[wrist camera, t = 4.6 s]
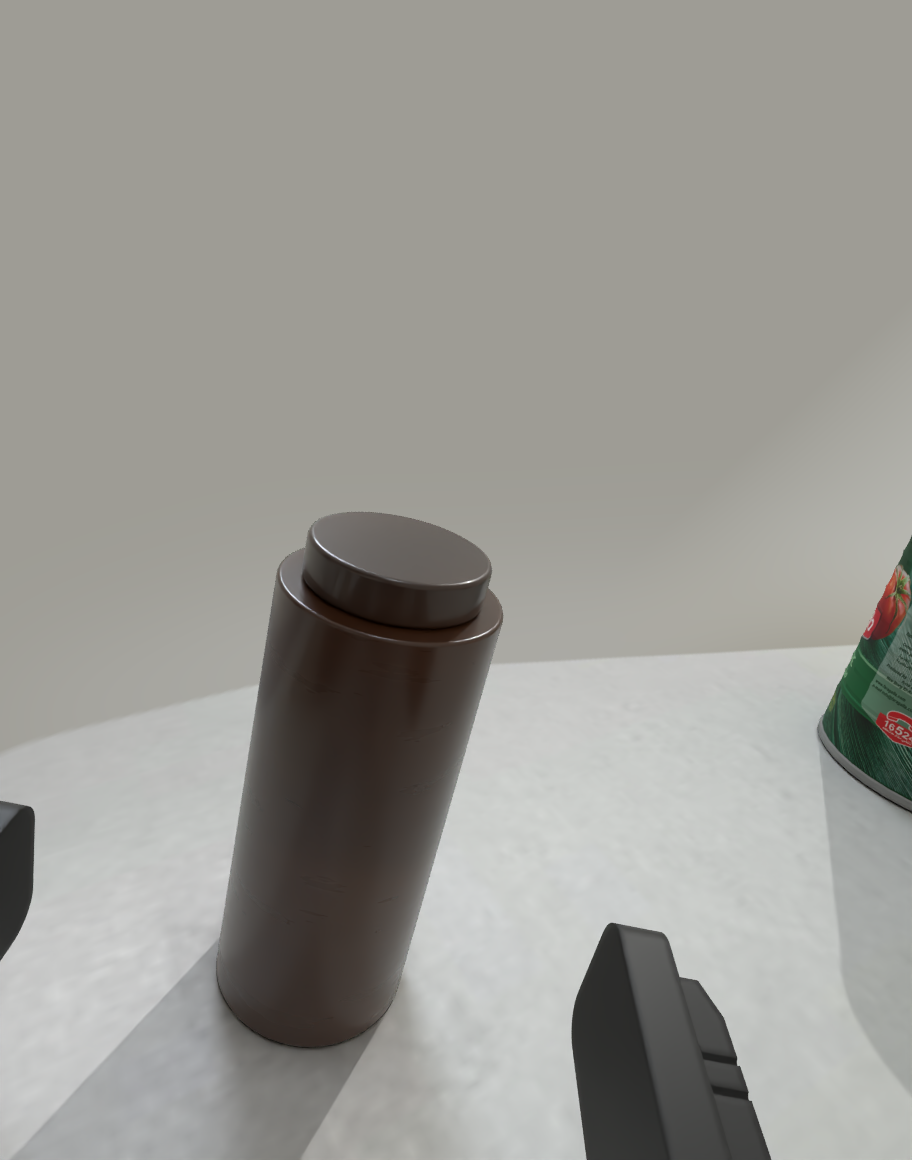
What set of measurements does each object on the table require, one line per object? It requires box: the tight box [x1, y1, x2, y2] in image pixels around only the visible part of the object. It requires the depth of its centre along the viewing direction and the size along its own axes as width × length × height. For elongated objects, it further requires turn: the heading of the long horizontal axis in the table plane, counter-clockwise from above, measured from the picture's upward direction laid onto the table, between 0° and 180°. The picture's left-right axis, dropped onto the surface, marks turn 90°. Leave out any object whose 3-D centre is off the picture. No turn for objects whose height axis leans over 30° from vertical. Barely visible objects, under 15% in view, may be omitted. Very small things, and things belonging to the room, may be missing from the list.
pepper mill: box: [216, 512, 503, 1047], centre depth 15 cm, size 4×4×10 cm
